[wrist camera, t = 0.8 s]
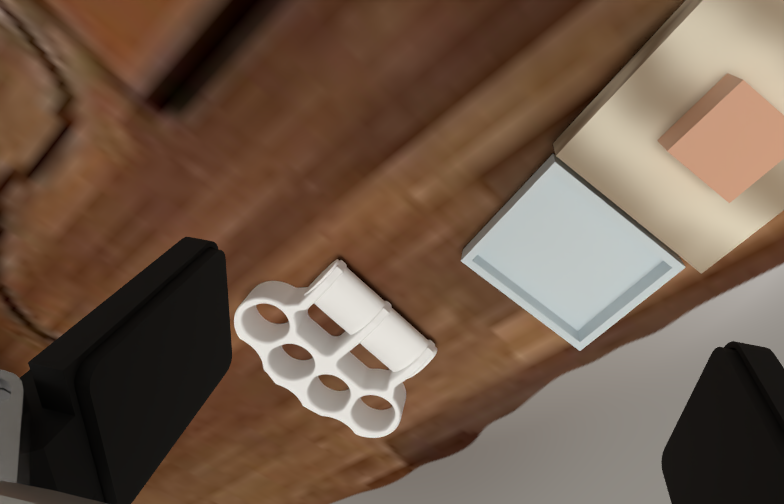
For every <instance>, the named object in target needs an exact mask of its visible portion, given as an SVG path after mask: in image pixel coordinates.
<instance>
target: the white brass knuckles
mask: <svg viewBox="0 0 784 504" xmlns="http://www.w3.org/2000/svg"><path fill="white" fill-rule="evenodd" d="M260 303H267V304H271V305H274V306H276V307H278V308H279V309H280V310H282V311H283V312H284V313H285V315H286V316H287V318H288V320H289V322H287V323H284V324H275V323H271V322H269V321H267V320H266V319H264V318H263V317H262V316H261V315H260V314H259V312H258V310H257V308H256V305H257V304H260ZM313 303H314V304H315V305H316V306H318V307H319V308H320V309H321V310H322V311H323V312H325V313H326V314H327V315H328V316H329V317H330V318H331V319H333V320H334V321H335V322H336V323H337V324H338V325H340V326H341V327H342V328H343V329H344V330H345V332H344V333H343V334H342V335H340V336H332V335H330V334H329V333H327V332H326V331H325V330H324V329H323V328H322V327H320V326H319V325H318V324H317V323H316V322H315V321H314V320H312V319H311V318H310V317H309V315H308V308H309V307H310V306H311V305H312V304H313ZM234 326H235V330H236V333H237V335H238V337H239V338H240V339H241V340H243V341H245V342H246V343H248V344H249V345H250V346H252V347H253V348H254V349H255V350H256V352H257V353H258V354H259V356H260V358H261V360H262V363H263V368H264V371H265V372H267V373H268V375H269V376H270V377H271V378H272V380H273V381H274V382H275V383H276V384H277V385H280V386H283V387H285V388H287V389H288V390H290V391H291V392H292V393H294V394H295V395H296V396H297V397H298V399H299V400H300V401H301V403H302V405H303V406H304V407H306V408H307V409H309V410H311V411H313V412H315V413H317V414H319V415H321V416H327V417H332V418H335V419H337V420H339V421H341V422H343V423H345V424H346V425H347V426H349V427H350V428H351V429H352V430H353V432H354V433H355V434H357V435H359V436H363V437H369V438H377V437H383V436H386V435H388V434H390V433H391V432H393V431H394V430H395V429H396V428H397V426H398V425H399V423H400V420H401V416H402V412H403V408H404V404H405V400H406V389H405V386H404V384H403V381H405V380H406V379H408V378H410V377H412V376H414V375H415V374H417V373H418V372H419V371H421V370H422V369H423V368H424V367H425V366H426V365H427V364H428V363H429V362H430V361H431V360H432V359H433V358H434V356H435V355H436V353H437V348H436V347H435V343H433V342H432V341H431V340H427V339H426V338H425V337H424V336H423V335H422V334H421V333H419V332H418V331H417V330H416V329H415V328H414V327H413V326H412V325H411V324H410V323H408V322H407V321H406V320H405V319H404V318H403V317H402V316H401V315H399V314H398V313H397V312H396V311H395V310H394V309H393V308H392V305H391V304H390V303H389V302H388V301H384V300H383V299H382V298H381V297H379V296H378V295H377V294H376V293H375V292H374V291H373V290H372V289H371V288H369V287H368V286H367V285H366V284H365V283H364V282H363V281H362V280H361V279H359V278H358V277H357V276H356V275H355V274H354V273H353V272H352V271H351V270H349V269H348V268H347V264H346V263H344V262H343V261H342V260H338V259H336V260H335V261H334V262H333V263H331V264H330V265H329V266H328V267H327V268H326V269H325V270H324V271H323V272H322V273H321V274H320V275H319V276H318V277H317V278H316V279H315V280H314V281H313V282H312V283H311V284H310V286H309V287H302V288H296V287H294V286H292V285H290V284H287V283H284V282H280V281H267V282H263V283H261V284H259V285H257V286H256V287H255V288H254V289H253V290H252V291H251V292H250V294H249V295H248V296H247V297H246V298H245V300H244V301H243V302H242V303H241V304H240V306H239V307H238V308H237V310H236V313H235V316H234ZM359 343H360V344H361V345H363V346H364V347H365V348H366V349H367V350H368V351H370V352H371V353H372V354H373V355H374V356H375V357H376V358H378V359H379V360H380V361H381V362H382V363H383V364H385V365H386V366H387V367H388V368H389V369H390V370H384V369H371V368H368V367H367V366H366V365H364V364H363V363H362V362H361V361H360V360H359V359H358V358H356V357H355V356H354V355H353V354H352V353H351V352H349V351H350V350H351V349H353V348H354V347H355V346H356V345H358V344H359ZM283 344H296V345H299V346H302V347H303V348H305V349H306V350H308V351H309V352H310V354H311V355H312V356H313V358H312V359H309V360H297V359H295V358H292V357H291V356H289V355H288V354H287V353H286V352H285V351H284V350H283V348H282V346H281V345H283ZM322 374H330V375H334V376H336V377H338V378H340V379H342V380H343V381H344V382H345V383H346V384H347V385H348V387H349V389H348V390H345V391H335V390H332V389H330V388H328V387H326V386H325V385H324V384H323V383H322V382H321V381H320V379H319V377H318V375H322ZM365 395H376V396H380V397H382V398H384V399H386V400H387V401H388V402H390V403H391V405H392V407H391V408H389V409H386V410H377V409H373V408H371V407H369V406H367V405H366V404H365V403H364V402H363V401H362V400H361V398H360V397H362V396H365Z"/></svg>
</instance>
